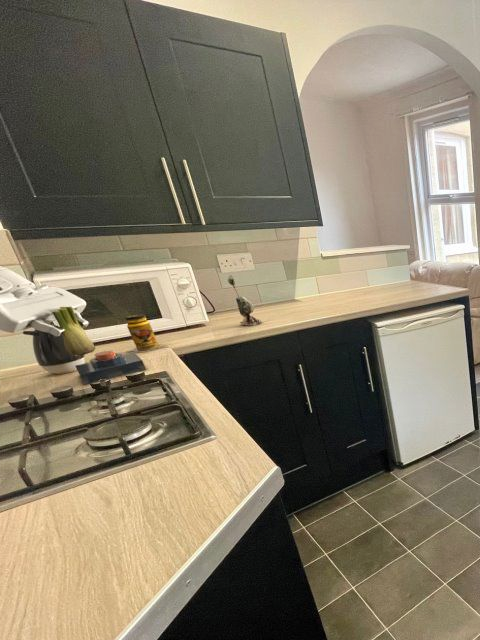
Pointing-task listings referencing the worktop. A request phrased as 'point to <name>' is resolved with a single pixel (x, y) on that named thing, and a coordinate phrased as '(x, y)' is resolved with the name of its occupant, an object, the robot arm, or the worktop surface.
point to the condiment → (141, 333)
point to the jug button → (105, 355)
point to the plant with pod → (244, 307)
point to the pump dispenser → (53, 352)
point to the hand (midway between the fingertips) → (73, 329)
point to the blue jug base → (110, 367)
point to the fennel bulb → (73, 332)
